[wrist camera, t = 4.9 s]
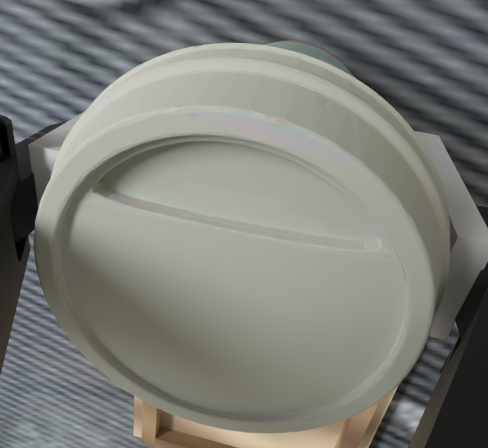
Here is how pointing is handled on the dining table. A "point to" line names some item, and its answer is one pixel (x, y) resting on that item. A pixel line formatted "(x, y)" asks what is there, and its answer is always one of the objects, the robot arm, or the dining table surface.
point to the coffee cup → (245, 237)
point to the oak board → (254, 444)
